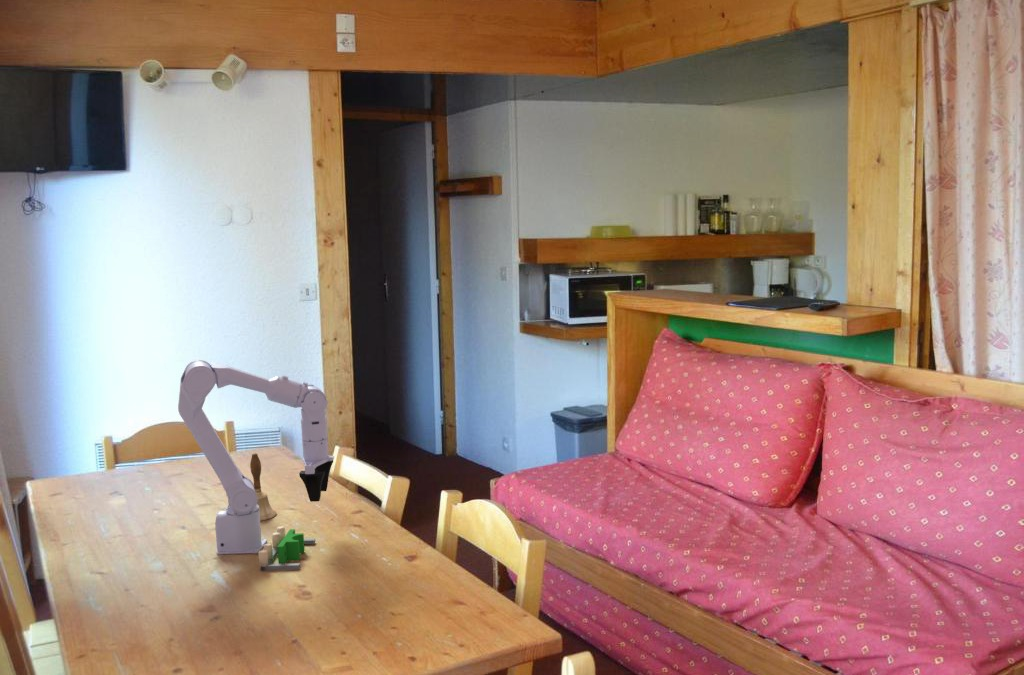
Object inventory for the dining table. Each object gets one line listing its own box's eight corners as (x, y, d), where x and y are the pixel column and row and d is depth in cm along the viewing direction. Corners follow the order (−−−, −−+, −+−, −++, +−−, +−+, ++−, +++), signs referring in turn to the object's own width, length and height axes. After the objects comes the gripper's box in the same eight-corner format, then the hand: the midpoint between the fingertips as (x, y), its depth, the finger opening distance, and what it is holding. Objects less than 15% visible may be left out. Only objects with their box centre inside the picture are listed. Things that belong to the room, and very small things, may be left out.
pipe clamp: (296, 566, 208) (294, 546, 207) (278, 567, 208) (277, 546, 207) (307, 547, 219) (306, 528, 218) (291, 548, 219) (289, 528, 218)
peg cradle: (258, 571, 205) (257, 553, 205) (278, 543, 222) (277, 526, 222) (298, 570, 205) (297, 552, 205) (315, 542, 222) (314, 525, 221)
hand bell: (235, 519, 240) (230, 457, 238) (256, 509, 248) (251, 448, 246) (263, 522, 237) (258, 459, 235) (283, 512, 245) (279, 451, 243)
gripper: (325, 446, 215) (329, 505, 217) (338, 430, 229) (341, 486, 231) (294, 447, 215) (298, 506, 217) (308, 431, 229) (312, 487, 231)
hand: (318, 495), depth 224 cm, fingers open, 7 cm apart
